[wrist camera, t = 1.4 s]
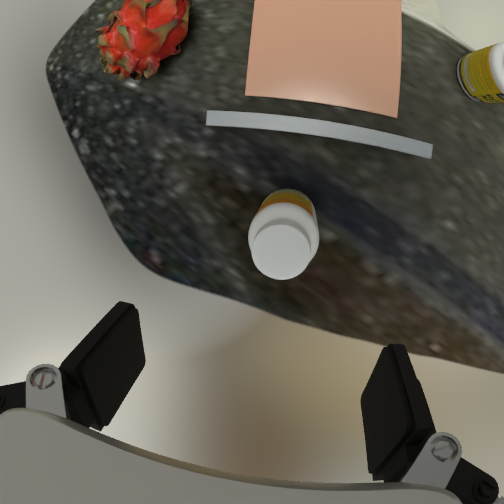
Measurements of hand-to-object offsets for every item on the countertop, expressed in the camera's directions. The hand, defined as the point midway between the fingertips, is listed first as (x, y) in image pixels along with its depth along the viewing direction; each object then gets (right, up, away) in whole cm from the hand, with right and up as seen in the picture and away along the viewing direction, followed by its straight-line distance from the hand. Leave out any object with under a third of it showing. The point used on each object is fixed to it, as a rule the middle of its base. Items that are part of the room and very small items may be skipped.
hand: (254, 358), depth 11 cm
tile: (+7, +24, +11) cm, 27 cm away
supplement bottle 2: (+23, +21, +10) cm, 33 cm away
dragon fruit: (-9, +26, +13) cm, 31 cm away
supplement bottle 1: (+3, +7, +18) cm, 20 cm away
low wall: (+6, +15, +15) cm, 22 cm away
